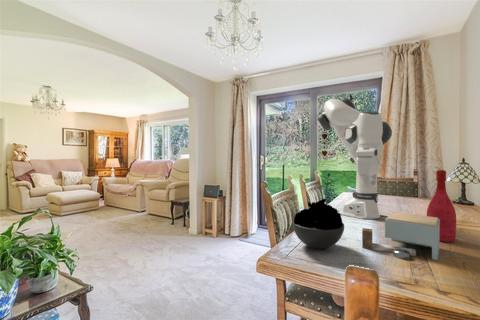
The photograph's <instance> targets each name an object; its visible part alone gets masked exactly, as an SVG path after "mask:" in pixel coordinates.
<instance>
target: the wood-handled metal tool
mask: <svg viewBox="0 0 480 320" xmlns="http://www.w3.org/2000/svg"><path fill="white" fill-rule="evenodd" d="M361 235H362V237H361V242H362V243H361V245H362V248H363V249H369V250H376V251H382V252H388V253H393V250H394V249H403V250H407V251H409V252H410V257H411V256H412V257H413V256H414V257H417V251H416V249H415V248H409V247H402V246H397V245H396V246H395V245H390V244H381V243H377V242H373V229H372V228H365V227H363V228H362V232H361Z"/></svg>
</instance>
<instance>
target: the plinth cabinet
mask: <svg viewBox="0 0 480 320" xmlns="http://www.w3.org/2000/svg"><path fill="white" fill-rule="evenodd" d="M439 231H440V219H438V218H437V217H429V216H427V215H420V214H412V213H405V212H398V211H397V212H396V211H395V212H394V211H392V212H391V213H389V215H388V216H387V217H386V218H385V219H384V238H387V239H391V241H396V242H400V243H405V244H411V245H415V246H419V247H420V246H421V247H427V248H431V259H432V260H435V261H438V259H439V255H440V253H439V252H440V241H439Z"/></svg>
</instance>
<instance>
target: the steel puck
mask: <svg viewBox="0 0 480 320" xmlns="http://www.w3.org/2000/svg"><path fill="white" fill-rule="evenodd" d="M392 253H393V256H394V258H396V259H400V260H410V259H411V255H410V252H409V251H407V250H403V249H394V250H393V252H392Z"/></svg>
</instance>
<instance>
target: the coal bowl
mask: <svg viewBox="0 0 480 320" xmlns="http://www.w3.org/2000/svg"><path fill="white" fill-rule="evenodd" d="M326 201H327V199H326V198H322V199H320V200H318V201H316V202H315V201H312V202H307V206H308V207H309V208H304V209H303V208H302V209H301V210H299V212H296V213H295V214H294V218H293V220H292V228H293V231H294V234H295V235H296V237H297V239H299V241H300V242H302V243H303V244H304V245H305V246H307V247H309V248H312V249H321V250H323V249H328V248H330V247H333V246H334V245H336V244H337V243H338V242H339V241H340V240H341V238H342V236H343V235H344V231H345V224H344V223H343V219H342V215H341V214H340V213H339V211H338V208H335V207H333V206H331V205H330V204H327V203H326Z"/></svg>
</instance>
